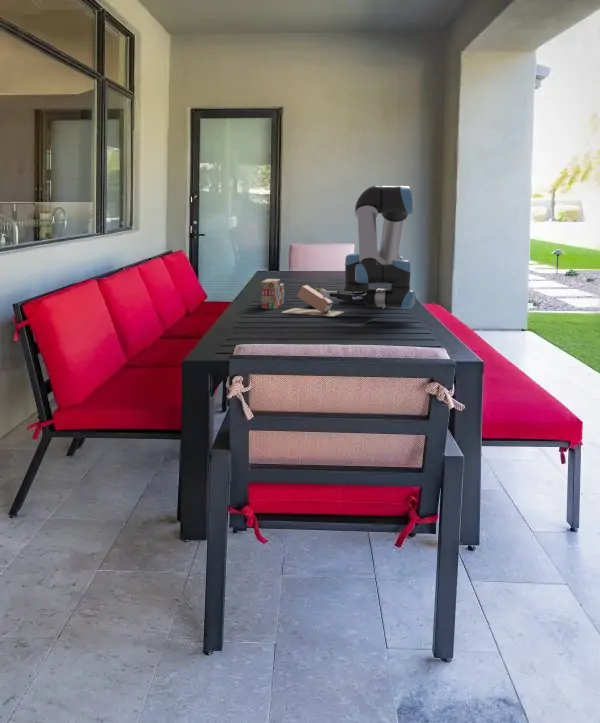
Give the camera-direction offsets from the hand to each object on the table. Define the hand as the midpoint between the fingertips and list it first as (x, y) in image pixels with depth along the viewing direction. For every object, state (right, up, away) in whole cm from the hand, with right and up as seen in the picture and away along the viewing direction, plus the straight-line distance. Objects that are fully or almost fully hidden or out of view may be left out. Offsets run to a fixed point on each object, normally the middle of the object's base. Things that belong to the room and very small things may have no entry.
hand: (323, 294), depth 322 cm
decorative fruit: (-1, -5, +22) cm, 22 cm away
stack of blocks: (-22, -3, +28) cm, 36 cm away
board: (-4, -8, +3) cm, 10 cm away
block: (+2, -6, +1) cm, 6 cm away
